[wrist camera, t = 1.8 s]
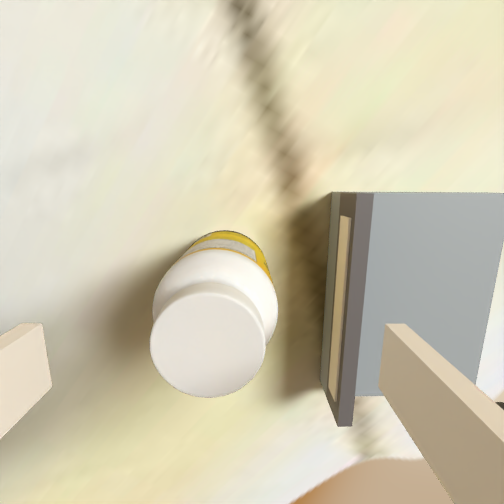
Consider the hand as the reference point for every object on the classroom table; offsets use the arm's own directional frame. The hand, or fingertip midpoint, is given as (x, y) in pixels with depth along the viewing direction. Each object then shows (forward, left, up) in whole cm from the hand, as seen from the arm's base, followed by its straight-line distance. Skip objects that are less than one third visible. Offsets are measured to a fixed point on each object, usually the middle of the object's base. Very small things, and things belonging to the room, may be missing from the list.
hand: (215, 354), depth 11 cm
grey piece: (+14, -2, -12) cm, 18 cm away
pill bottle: (0, 0, -12) cm, 12 cm away
